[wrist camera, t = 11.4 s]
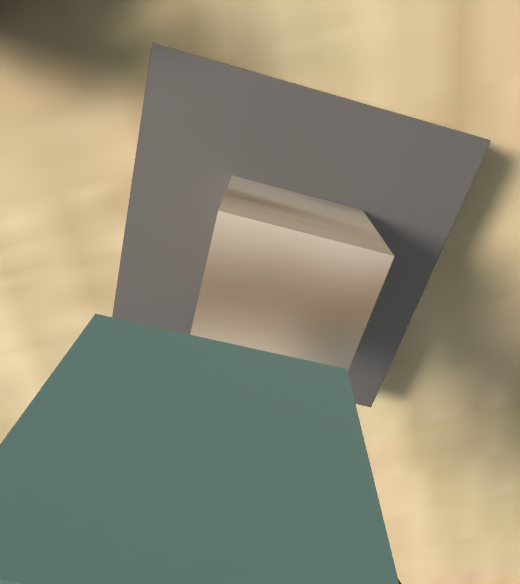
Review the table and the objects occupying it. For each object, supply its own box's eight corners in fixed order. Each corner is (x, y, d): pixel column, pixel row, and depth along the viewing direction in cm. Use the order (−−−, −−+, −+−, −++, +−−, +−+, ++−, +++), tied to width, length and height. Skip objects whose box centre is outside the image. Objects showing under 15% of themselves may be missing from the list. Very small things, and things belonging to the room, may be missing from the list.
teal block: (282, 534, 11) (288, 836, 7) (77, 495, 11) (-59, 790, 7) (346, 368, 9) (415, 650, 5) (95, 314, 9) (-87, 563, 4)
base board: (363, 381, 23) (371, 407, 21) (121, 324, 22) (107, 346, 20) (468, 134, 18) (491, 140, 16) (164, 46, 17) (152, 42, 15)
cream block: (321, 323, 20) (336, 398, 15) (204, 295, 19) (183, 363, 15) (362, 209, 17) (394, 256, 13) (232, 175, 17) (218, 210, 13)
